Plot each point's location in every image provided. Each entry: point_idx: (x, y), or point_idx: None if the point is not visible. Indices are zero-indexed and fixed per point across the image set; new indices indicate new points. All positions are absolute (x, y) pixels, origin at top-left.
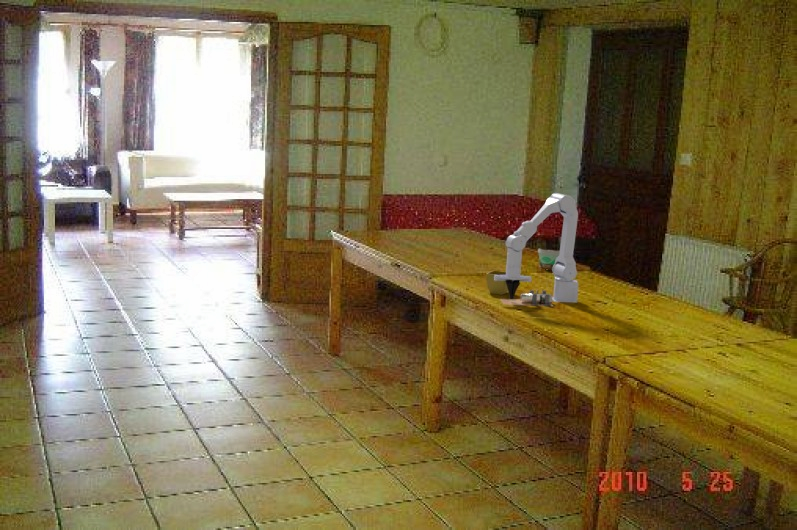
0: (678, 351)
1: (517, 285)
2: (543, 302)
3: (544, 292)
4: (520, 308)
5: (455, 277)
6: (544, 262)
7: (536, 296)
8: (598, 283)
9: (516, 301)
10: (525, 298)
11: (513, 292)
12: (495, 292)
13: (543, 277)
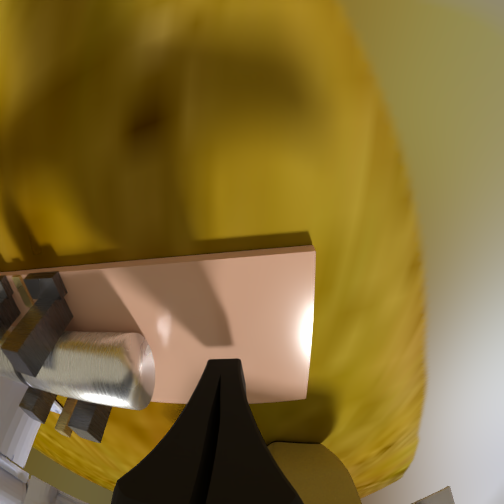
0: None
1: (141, 480)
2: None
3: (26, 402)
4: (134, 171)
5: (361, 483)
6: None
7: (10, 335)
8: (62, 461)
9: (186, 364)
10: (96, 349)
11: (202, 411)
12: (306, 450)
13: None
